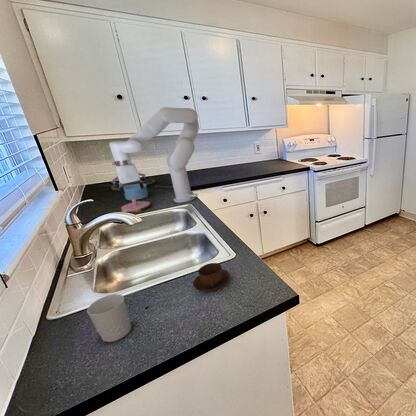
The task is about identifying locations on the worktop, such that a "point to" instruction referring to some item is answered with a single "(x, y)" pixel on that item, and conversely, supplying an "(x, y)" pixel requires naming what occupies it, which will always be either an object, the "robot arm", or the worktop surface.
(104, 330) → the white cup
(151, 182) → the decorative plate
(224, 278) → the cup and saucer
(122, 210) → the trivet
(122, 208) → the plate lid
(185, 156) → the robot arm
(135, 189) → the bowl
